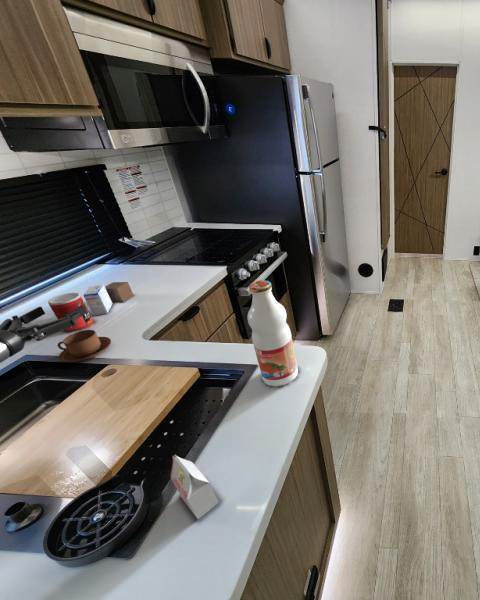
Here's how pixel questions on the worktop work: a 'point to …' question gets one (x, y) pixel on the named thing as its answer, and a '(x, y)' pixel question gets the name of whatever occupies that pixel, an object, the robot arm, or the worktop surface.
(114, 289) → the walnut block
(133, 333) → the worktop surface
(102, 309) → the medicine box
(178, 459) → the white carton box
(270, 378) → the fruit juice
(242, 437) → the worktop surface
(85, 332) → the cup and saucer
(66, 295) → the canned food
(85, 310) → the robot arm
